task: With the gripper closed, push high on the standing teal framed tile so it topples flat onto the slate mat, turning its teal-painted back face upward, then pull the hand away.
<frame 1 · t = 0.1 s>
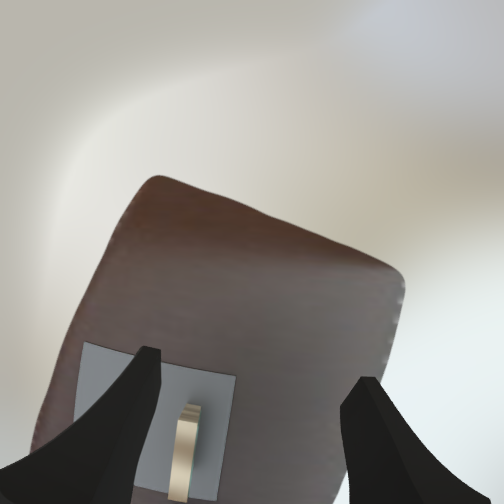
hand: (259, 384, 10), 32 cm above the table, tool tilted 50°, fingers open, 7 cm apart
slate mat: (146, 427, 35), on the table
teal framed tile: (188, 437, 36), resting on slate mat
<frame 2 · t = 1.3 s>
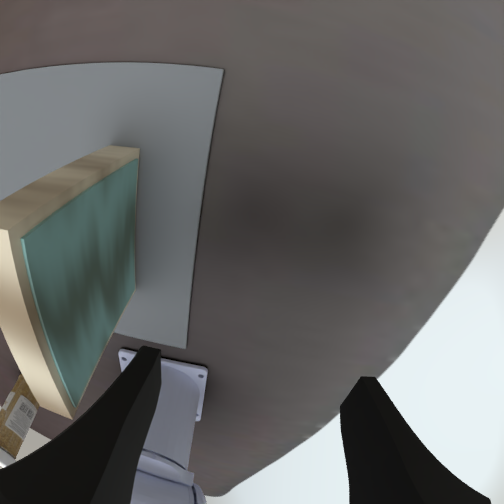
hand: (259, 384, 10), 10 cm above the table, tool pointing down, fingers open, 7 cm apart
slate mat: (51, 209, 18), on the table
sprinkles bottle: (34, 383, 30), on the table
teal framed tile: (121, 224, 18), resting on slate mat
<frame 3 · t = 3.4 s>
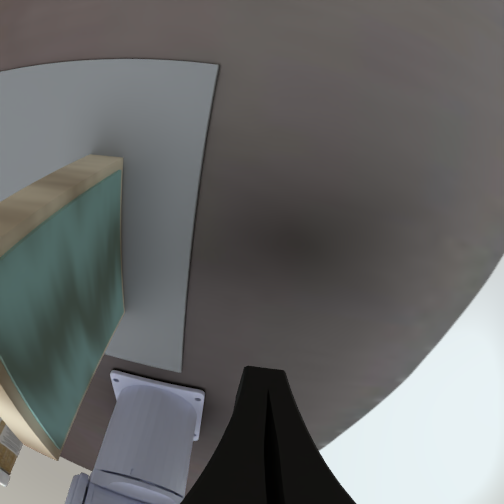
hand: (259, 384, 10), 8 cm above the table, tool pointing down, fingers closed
slate mat: (32, 223, 16), on the table
sprinkles bottle: (27, 396, 28), on the table
teal framed tile: (105, 242, 16), resting on slate mat
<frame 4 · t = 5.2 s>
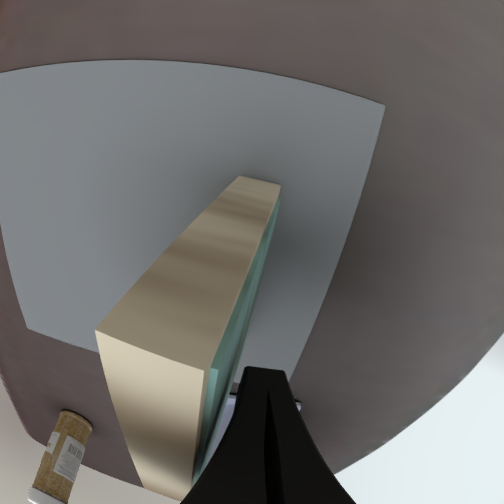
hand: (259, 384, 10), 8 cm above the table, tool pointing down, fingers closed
slate mat: (138, 245, 17), on the table
sprinkles bottle: (77, 418, 29), on the table
teal framed tile: (241, 270, 17), point 1 cm above the table, tilted 9°, touching gripper, slate mat
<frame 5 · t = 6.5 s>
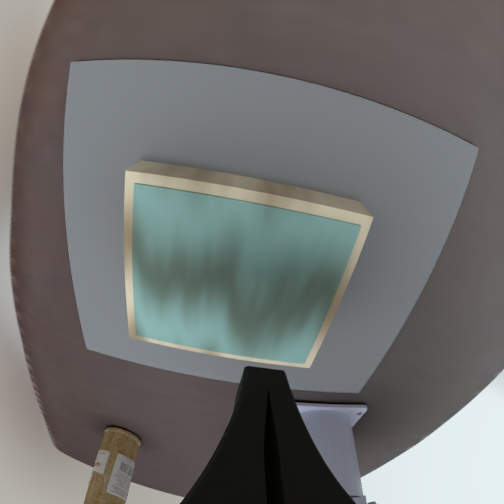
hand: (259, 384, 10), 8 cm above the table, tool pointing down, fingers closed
slate mat: (247, 265, 17), on the table
sprinkles bottle: (124, 433, 29), on the table
teal framed tile: (335, 294, 16), point 1 cm above the table, tilted 90°, touching slate mat
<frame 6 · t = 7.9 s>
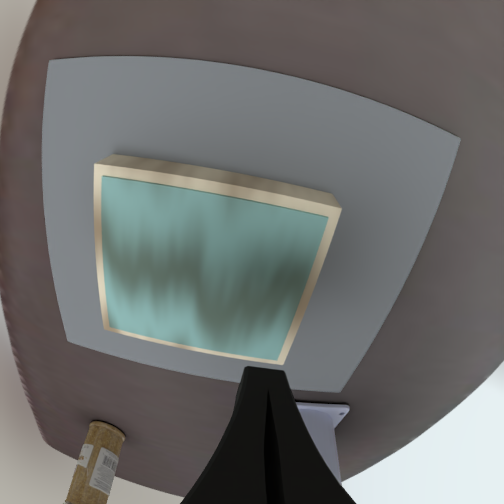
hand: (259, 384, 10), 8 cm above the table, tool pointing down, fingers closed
slate mat: (218, 258, 17), on the table
sprinkles bottle: (108, 428, 29), on the table
teal framed tile: (306, 289, 16), point 1 cm above the table, tilted 90°, touching slate mat
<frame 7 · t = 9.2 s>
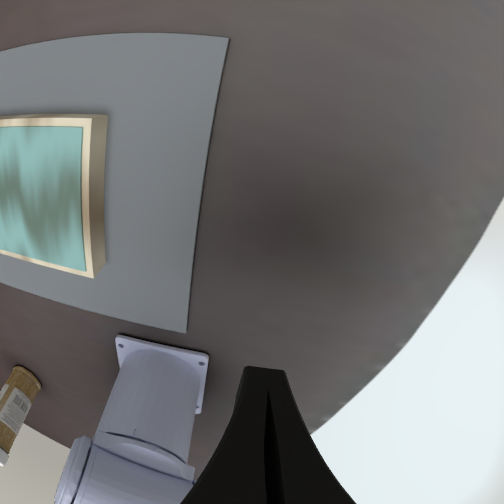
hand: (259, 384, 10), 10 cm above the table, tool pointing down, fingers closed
slate mat: (49, 184, 17), on the table
sprinkles bottle: (29, 375, 29), on the table
teal framed tile: (96, 200, 17), point 1 cm above the table, tilted 90°, touching slate mat
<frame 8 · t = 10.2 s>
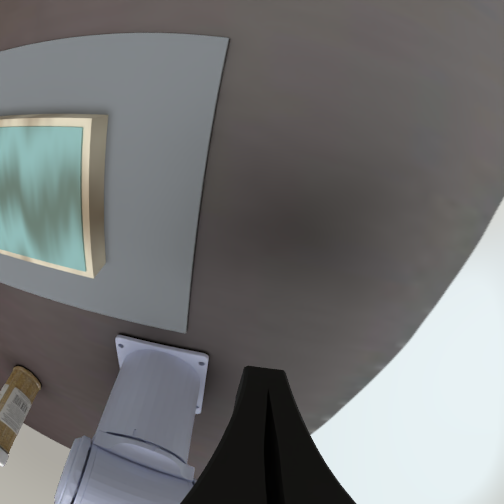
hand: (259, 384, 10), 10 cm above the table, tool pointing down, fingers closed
slate mat: (49, 184, 17), on the table
sprinkles bottle: (29, 375, 29), on the table
teal framed tile: (96, 200, 17), point 1 cm above the table, tilted 90°, touching slate mat
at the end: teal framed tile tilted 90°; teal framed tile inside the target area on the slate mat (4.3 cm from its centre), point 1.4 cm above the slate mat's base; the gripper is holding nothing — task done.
